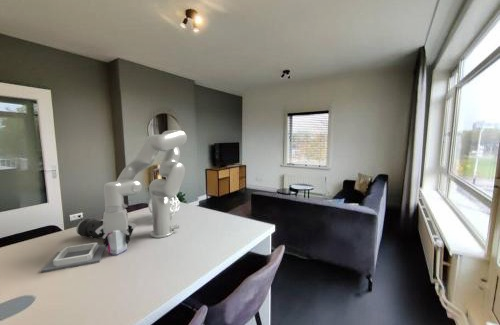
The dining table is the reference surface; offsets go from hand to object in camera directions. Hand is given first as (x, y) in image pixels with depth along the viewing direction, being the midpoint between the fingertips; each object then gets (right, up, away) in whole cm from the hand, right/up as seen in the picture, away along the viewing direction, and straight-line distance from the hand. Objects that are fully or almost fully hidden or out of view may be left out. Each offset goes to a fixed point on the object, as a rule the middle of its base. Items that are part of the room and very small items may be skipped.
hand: (117, 243), depth 105 cm
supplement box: (0, -4, 0) cm, 4 cm away
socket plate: (-15, -5, -5) cm, 16 cm away
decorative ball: (+6, 0, +45) cm, 45 cm away
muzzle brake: (-16, -3, +15) cm, 22 cm away
